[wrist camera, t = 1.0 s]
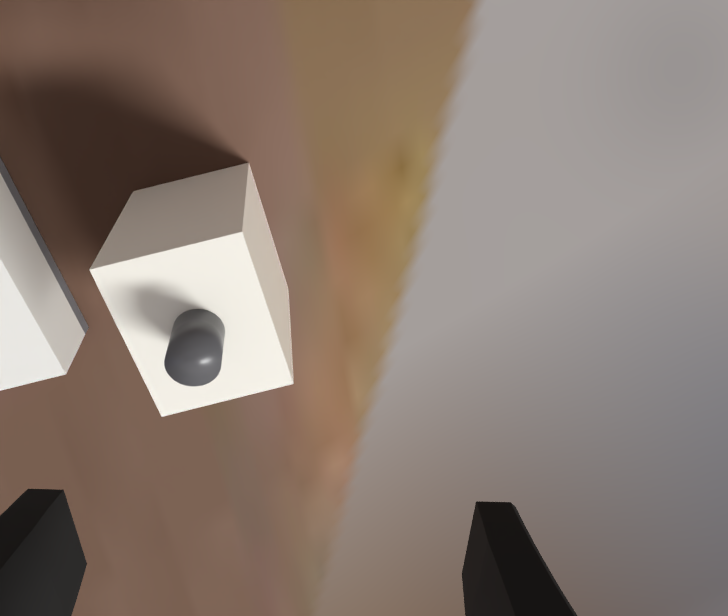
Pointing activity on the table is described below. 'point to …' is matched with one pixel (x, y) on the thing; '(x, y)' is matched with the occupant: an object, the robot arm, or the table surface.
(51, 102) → the table surface
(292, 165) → the table surface
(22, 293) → the white frame
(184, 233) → the white drawer with knob
